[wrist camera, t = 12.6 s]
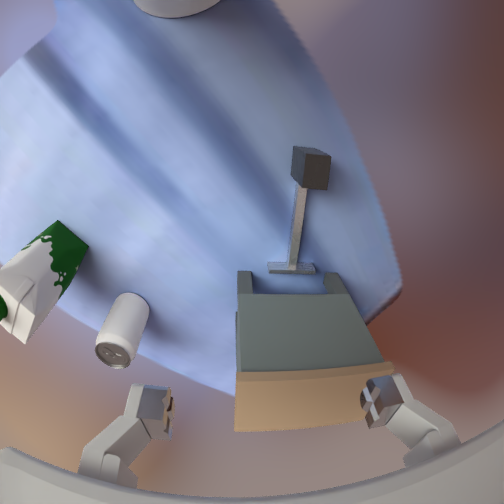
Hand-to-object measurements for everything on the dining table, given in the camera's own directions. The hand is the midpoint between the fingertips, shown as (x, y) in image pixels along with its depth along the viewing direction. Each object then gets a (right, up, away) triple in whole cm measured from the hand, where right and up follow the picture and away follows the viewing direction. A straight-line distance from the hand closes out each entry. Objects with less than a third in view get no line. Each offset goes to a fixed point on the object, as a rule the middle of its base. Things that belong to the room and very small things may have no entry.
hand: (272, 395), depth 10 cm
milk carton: (-32, +6, +30) cm, 44 cm away
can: (-21, -4, +36) cm, 42 cm away
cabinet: (+5, -2, +37) cm, 37 cm away
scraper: (+6, +12, +30) cm, 33 cm away
